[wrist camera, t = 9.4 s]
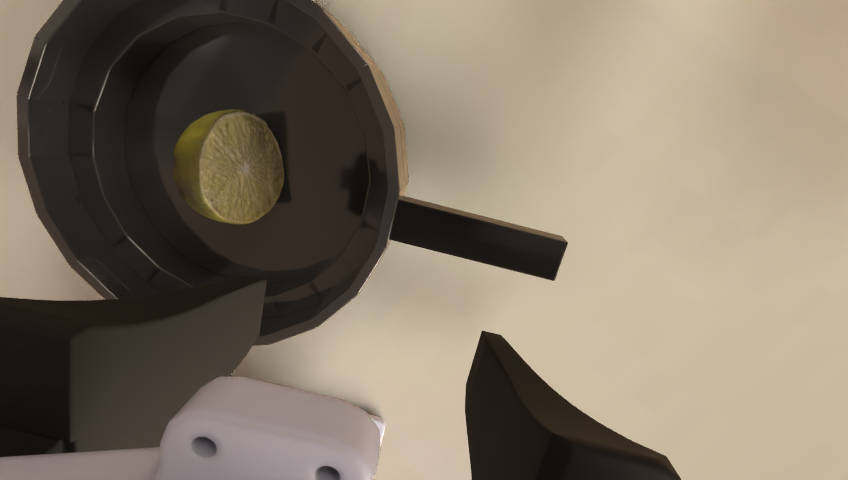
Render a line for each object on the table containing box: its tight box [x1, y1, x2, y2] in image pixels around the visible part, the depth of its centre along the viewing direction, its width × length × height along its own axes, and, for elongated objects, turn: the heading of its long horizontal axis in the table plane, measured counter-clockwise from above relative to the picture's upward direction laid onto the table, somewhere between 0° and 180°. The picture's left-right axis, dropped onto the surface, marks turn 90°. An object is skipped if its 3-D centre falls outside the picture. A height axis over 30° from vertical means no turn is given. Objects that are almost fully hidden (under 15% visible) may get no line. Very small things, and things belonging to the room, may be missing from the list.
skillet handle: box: [389, 196, 568, 281], centre depth 19 cm, size 2×8×1 cm, turn 76°
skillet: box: [17, 0, 409, 346], centre depth 20 cm, size 16×16×4 cm
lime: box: [173, 109, 284, 224], centre depth 19 cm, size 4×5×5 cm
